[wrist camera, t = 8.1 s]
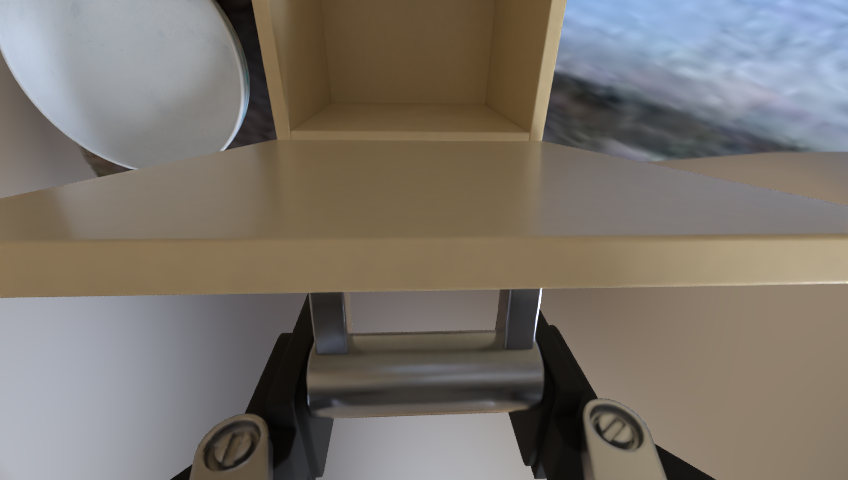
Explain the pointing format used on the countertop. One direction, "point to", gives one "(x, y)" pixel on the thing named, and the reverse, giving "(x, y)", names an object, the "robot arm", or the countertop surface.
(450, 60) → the wooden box
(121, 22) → the chinaware
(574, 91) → the countertop surface
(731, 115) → the countertop surface
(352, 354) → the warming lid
